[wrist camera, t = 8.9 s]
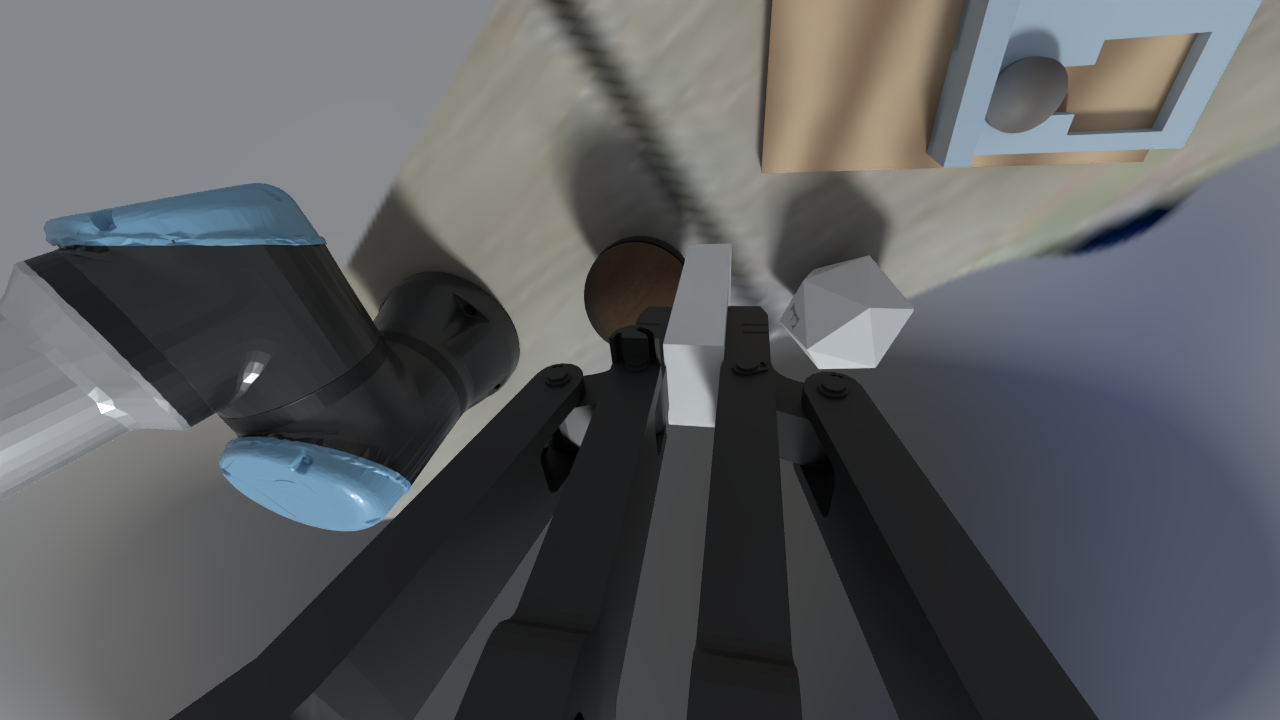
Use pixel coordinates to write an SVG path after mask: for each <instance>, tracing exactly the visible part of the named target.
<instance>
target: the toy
mask: <svg viewBox="0 0 1280 720" xmlns="http://www.w3.org/2000/svg"><path fill="white" fill-rule="evenodd" d="M684 263H685V258H684V257H683V256H682V254H681V253H680V252H679V251H678V250H676V249H675V248H674V247H673V246H671V245H670V244H668V243H667V242H665V241H662V240H660V239H657V238H654V237H649V236H633V237H628V238H625V239H622V240H619V241H617V242H615V243H613V244H612V245H610V246H609V247H607V248H606V249H605V250H604V251H603V252H602V253H601V254H600V255H599V256H598V258H597V259H596V260H595V262H594V264H593V265H592V267H591V269H590V271H589V273H588V276H587V279H586V283H585V289H584V302H585V309H586V312H587V315H588V318H589V320H590V322H591V324H592V326H593V328H594V329H595V330H596V332H597V333H598V334H599V335H600V336H601V337H602V338H603V339H604V340H605V341H606V342H608V343H609V336H610V335H611V334H612V333H613V332H614V331H616V330H618V329H619V328H622V327H626V326H629V325H636V322H637V319H638V317H639V314H640V313H641V312H643V311H644V310H645V309H646V308H647V307H648V306H659V307H673V304H674V301H675V297H676V293H677V289H678V285H679V282H680V278H681V274H682V270H683V266H684ZM609 344H610V343H609Z"/></svg>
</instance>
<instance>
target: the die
mask: <svg viewBox="0 0 1280 720" xmlns="http://www.w3.org/2000/svg"><path fill="white" fill-rule="evenodd" d="M913 310H914V308H913V307H912V306H911V305H910V303H909V302H908V301H907V300H906V298H905V297H904V296H903V295H902V294H901V293H900V291H899V290H898V289H897V288H896V287H895V285H894V284H893V283H892V282H891V281H890V279H889V278H888V277H887V276H886V275H885V273H884V272H883V271H882V270H881V269H880V267H879V266H878V265H877V264H876V263H875V261H874V260H873V259H872V258H871V257H870V255H868V256H864V257H860V258H856V259H852V260H849V261H845V262H841V263H837V264H833V265H829V266H825V267H821V268H817V269H813V270H812V271H811V273H810V274H809V275H808V276H807V277H806V278H805V279H804V280H803V282H802V284H801V285H800V287H799V289H798V290H797V292H796V294H795V295H794V297H793V299H792V300H791V302H790V304H789V306H788V307H787V309H786V311H785V312H784V314H783V316H782V317H781V319H780V322H781V324H782V325H783V326H784V327H785V328H786V330H787V331H788V332H789V333H790V335H791V336H792V337H793V338H794V339H795V341H796V342H797V343H798V344H799V345H800V347H801V348H802V349H803V350H804V352H805V353H806V354H807V355H808V356H809V358H810V359H811V360H812V361H813V363H814V364H815V365H816V366H817V367H818V369H841V368H876V366H877V365H878V363H879V362H880V360H881V359H882V357H883V356H884V354H885V353H886V351H887V350H888V348H889V347H890V345H891V344H892V342H893V341H894V339H895V338H896V336H897V335H898V333H899V332H900V330H901V329H902V327H903V326H904V324H905V323H906V321H907V320H908V318H909V317H910V315H911V314H912V312H913Z"/></svg>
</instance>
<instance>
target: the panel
mask: <svg viewBox="0 0 1280 720" xmlns="http://www.w3.org/2000/svg"><path fill="white" fill-rule="evenodd" d="M1261 2H1262V0H965V1H964V5H963V9H962V13H961V17H960V21H959V25H958V29H957V33H956V37H955V41H954V45H953V49H952V53H951V57H950V61H949V65H948V69H947V73H946V77H945V81H944V85H943V89H942V93H941V97H940V101H939V105H938V109H937V113H936V117H935V121H934V125H933V129H932V133H931V137H930V141H929V145H928V149H927V153H926V154H928V155H929V156H930V157H931V158H932V159H934V160H935V161H936V162H937V163H938V164H940V165H941V166H942V167H943V168H944V167H970V165H971V162H972V159H973V156H974V155H999V154H1027V153H1056V152H1084V151H1112V150H1140V149H1169V148H1183V146H1184V144H1185V143H1186V141H1187V139H1188V137H1189V135H1190V133H1191V131H1192V130H1193V128H1194V126H1195V124H1196V122H1197V120H1198V118H1199V117H1200V115H1201V113H1202V111H1203V109H1204V107H1205V106H1206V104H1207V102H1208V100H1209V98H1210V96H1211V94H1212V93H1213V91H1214V89H1215V87H1216V85H1217V83H1218V81H1219V80H1220V78H1221V76H1222V74H1223V72H1224V70H1225V68H1226V67H1227V65H1228V63H1229V61H1230V59H1231V57H1232V55H1233V54H1234V52H1235V50H1236V48H1237V46H1238V44H1239V42H1240V41H1241V39H1242V37H1243V35H1244V33H1245V31H1246V29H1247V28H1248V26H1249V24H1250V22H1251V20H1252V18H1253V16H1254V15H1255V13H1256V11H1257V9H1258V7H1259V5H1260V3H1261ZM1190 33H1198V35H1197V37H1196V39H1195V41H1194V43H1193V45H1192V47H1191V49H1190V51H1189V53H1188V55H1187V57H1186V59H1185V61H1184V63H1183V65H1182V67H1181V69H1180V71H1179V73H1178V75H1177V77H1176V79H1175V81H1174V83H1173V85H1172V87H1171V89H1170V91H1169V93H1168V95H1167V98H1166V100H1165V102H1164V104H1163V106H1162V108H1161V110H1160V112H1159V114H1158V116H1157V118H1156V120H1155V122H1154V124H1153V126H1152V128H1147V129H1124V130H1101V131H1077V132H1068V130H1069V128H1070V125H1071V123H1072V120H1073V118H1074V115H1075V114H1072V113H1069V112H1054V114H1053V115H1052V116H1050V117H1049V118H1048V119H1047V120H1046V121H1045V122H1043V123H1042V124H1040V125H1039V126H1037V127H1035V128H1033V129H1031V130H1028V131H1025V132H1021V133H1014V134H1013V133H1004V132H1001V131H999V130H997V129H995V128H993V127H991V126H990V125H989V124H988V123H987V122H986V120H985V116H986V113H987V110H988V106H989V103H990V100H991V96H992V93H993V90H994V87H995V83H996V80H997V77H998V73H999V72H1001V71H1002V70H1003V69H1004V68H1005V67H1007V66H1008V65H1010V64H1011V63H1013V62H1015V61H1017V60H1020V59H1022V58H1026V57H1031V56H1041V57H1048V58H1052V59H1055V60H1057V61H1059V62H1060V63H1061V64H1062V65H1063V66H1064V67H1069V66H1084V65H1095V63H1096V60H1097V58H1098V55H1099V53H1100V50H1101V48H1102V45H1103V43H1104V40H1112V39H1125V38H1138V37H1151V36H1164V35H1177V34H1190Z"/></svg>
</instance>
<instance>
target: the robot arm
mask: <svg viewBox="0 0 1280 720" xmlns="http://www.w3.org/2000/svg"><path fill="white" fill-rule="evenodd" d="M44 230H45V233H46V241H47V242H48V243H50V244H51V245H52V246H56V245H57V246H59V249H57V250H55V251H53V252H49V253H46V254H43V255H40V256H37V257H34V258H31V259H28V260H25V261H21V262H18V263H16V264H14V267H13V270H12V273H11V276H10V278H9V281H8V284H7V287H6V290H5V293H4V296H3V297H2V298H1V299H0V501H2V500H4V499H6V498H7V497H9V496H11V495H13V494H15V493H17V492H19V491H20V490H22V489H24V488H26V487H28V486H30V485H31V484H33V483H35V482H37V481H39V480H41V479H42V478H44V477H46V476H48V475H50V474H52V473H53V472H55V471H57V470H59V469H61V468H63V467H65V466H66V465H68V464H70V463H72V462H74V461H76V460H77V459H79V458H81V457H83V456H85V455H86V454H88V453H90V452H92V451H94V450H96V449H97V448H99V447H101V446H103V445H105V444H107V443H109V442H110V441H112V440H114V439H116V438H118V437H120V436H121V435H123V434H125V433H127V432H129V431H130V430H136V429H141V428H155V429H172V430H185V429H188V428H190V427H192V426H194V425H195V424H197V423H199V422H200V421H202V420H204V419H206V418H208V417H209V416H211V415H213V414H214V413H217V414H218V415H219V416H220V417H221V418H222V419H223V420H224V421H225V423H226V424H227V425H228V426H229V427H230V428H231V429H232V430H233V431H234V432H235V433H236V435H237V436H238V438H236V439H235V440H231V441H230V442H228V443H227V445H226V446H225V449H224V451H223V452H222V454H221V455H220V458H219V465H220V467H221V468H222V473H223V475H224V476H225V477H226V479H227V480H228V481H229V482H230V483H231V484H232V485H233V486H234V487H235V488H236V489H238V490H239V491H240V492H242V493H243V494H244V495H246V496H247V497H249V498H250V499H252V500H254V501H255V502H257V503H258V504H260V505H262V506H264V507H266V508H267V509H269V510H272V511H274V512H276V513H278V514H280V515H282V516H285V517H287V518H289V519H292V520H295V521H298V522H300V523H304V524H307V525H310V526H314V527H318V528H323V529H328V530H335V531H356V530H362V529H365V528H368V527H371V526H373V525H375V524H376V523H378V522H379V521H381V520H382V519H383V518H384V517H385V516H386V514H387V513H388V512H389V511H390V510H391V509H392V507H393V506H394V505H395V504H396V503H397V501H398V500H399V499H400V498H401V497H402V496H403V495H405V494H406V493H407V492H409V490H410V488H411V485H412V484H413V482H414V481H415V480H416V478H417V477H418V475H419V474H420V473H421V471H422V470H423V468H424V467H425V466H426V464H427V463H428V462H429V460H430V459H431V457H432V456H433V455H434V453H435V452H436V450H437V449H438V448H439V446H440V445H441V443H442V442H443V441H444V439H445V438H446V436H447V435H448V434H449V432H450V431H451V429H452V428H453V427H454V425H455V424H456V422H457V421H458V420H459V418H460V417H461V416H462V414H463V413H464V412H465V411H467V410H468V409H470V408H471V407H473V406H475V405H476V404H478V403H479V402H481V401H483V400H484V399H485V398H487V397H488V396H490V395H492V394H494V393H495V392H497V391H498V390H499V389H501V388H502V387H503V386H504V385H505V383H506V382H507V381H508V379H509V378H510V376H511V375H512V373H513V372H514V370H515V369H516V367H517V364H518V361H519V355H520V348H519V341H518V337H517V333H516V331H515V328H514V326H513V324H512V322H511V320H510V319H509V317H508V316H507V314H506V313H505V311H504V310H503V309H502V308H501V306H500V305H499V304H498V303H497V302H496V301H495V300H494V299H493V298H492V297H491V296H489V295H488V294H487V293H486V292H484V291H483V290H482V289H480V288H479V287H477V286H476V285H474V284H472V283H470V282H468V281H466V280H464V279H462V278H459V277H457V276H454V275H450V274H446V273H439V272H425V273H419V274H415V275H413V276H410V277H409V278H407V279H405V280H404V281H403V282H401V283H400V284H399V285H397V286H396V287H395V288H393V289H392V290H391V291H390V292H389V293H388V294H387V295H386V297H385V298H384V300H383V302H382V304H381V306H380V309H379V313H378V314H377V316H376V318H375V319H374V321H372V319H371V318H370V316H369V314H368V313H367V311H366V310H365V308H364V306H363V305H362V303H361V302H360V300H359V299H358V297H357V295H356V294H355V292H354V291H353V289H352V287H351V286H350V284H349V283H348V281H347V280H346V278H345V276H344V275H343V273H342V272H341V270H340V268H339V267H338V265H337V263H336V262H335V260H334V258H333V257H332V255H331V254H330V252H329V250H328V248H327V247H326V245H325V244H327V243H326V241H325V239H324V238H323V237H320V236H319V235H318V233H317V232H316V230H315V229H314V228H313V226H312V225H311V223H310V222H309V221H308V219H307V218H306V216H305V215H304V214H303V212H302V211H301V210H300V208H299V206H298V205H297V204H296V202H295V201H294V200H293V199H292V197H291V196H289V195H288V194H287V193H286V192H284V191H283V190H281V189H279V188H277V187H275V186H271V185H268V184H261V183H253V184H245V185H238V186H232V187H226V188H220V189H215V190H208V191H203V192H197V193H192V194H185V195H180V196H174V197H168V198H163V199H158V200H152V201H147V202H141V203H136V204H131V205H126V206H120V207H115V208H111V209H104V210H100V211H94V212H89V213H83V214H76V215H70V216H65V217H60V218H55V219H51V220H49V221H47V222H46V223H45V225H44ZM730 286H731V244H689V247H688V251H687V255H686V259H685V263H684V266H683V270H682V274H681V278H680V282H679V285H678V289H677V293H676V297H675V301H674V304H673V307H659V306H648V307H647V308H646V309H645V310H644V311H643V312H641V313H640V314H639V317H638V319H637V322H636V325H629V326H626V327H622V328H619V329H618V330H616V331H614V332H613V333H612V334H611V335H610V336H609V343H610V349H611V356H612V363H613V364H612V366H611V369H610V370H608V371H606V372H602V373H598V374H593V375H587V376H583V372H582V370H581V369H580V368H579V367H578V366H575V365H573V364H564V363H562V364H555V365H552V366H549V367H547V368H544V369H543V370H541V371H540V372H539V373H537V374H536V375H535V376H534V377H533V378H532V379H531V380H530V381H529V383H528V384H527V385H526V386H525V387H524V388H523V389H522V390H521V391H520V392H519V393H518V394H517V395H516V396H515V397H514V398H513V399H512V400H511V401H510V402H509V403H508V404H507V405H506V406H505V407H504V408H503V409H502V410H501V411H500V412H499V413H498V414H497V415H496V416H495V417H494V418H493V419H492V420H491V421H490V422H489V423H488V424H487V425H486V426H485V427H484V428H483V429H482V430H481V431H480V432H479V433H478V434H477V435H476V436H475V437H474V438H473V439H472V440H471V441H470V442H469V443H468V444H467V445H466V446H465V447H464V448H463V449H462V450H461V451H460V452H459V453H458V454H457V455H456V456H455V457H454V458H453V459H452V460H451V461H450V462H449V464H448V465H447V466H446V467H445V468H444V469H443V470H442V471H441V472H440V473H439V474H438V475H437V476H436V477H435V478H434V479H433V480H432V481H431V482H430V483H429V484H428V485H427V486H426V487H425V488H424V489H423V490H422V491H421V492H420V493H419V494H418V495H417V496H416V497H415V498H414V499H413V500H412V501H411V502H410V503H409V504H408V505H407V506H406V507H405V508H404V509H403V510H402V511H401V512H400V513H399V514H398V515H397V516H396V517H395V518H394V519H393V520H392V521H391V522H390V523H389V524H388V525H387V526H386V527H385V528H384V529H383V530H382V531H381V532H380V533H379V534H378V535H377V537H375V539H373V540H372V542H371V543H370V544H369V545H368V546H367V547H366V548H365V549H364V550H363V551H362V552H361V553H360V554H359V555H358V556H357V557H356V558H355V559H354V560H353V561H352V562H351V563H350V564H349V565H348V566H347V567H346V568H345V569H344V570H343V571H342V572H341V573H340V574H339V575H338V576H337V577H336V578H335V579H334V580H333V581H332V582H331V583H330V584H329V585H328V586H327V587H326V588H325V589H324V590H323V591H322V592H321V593H320V594H319V595H318V596H317V597H316V598H315V599H314V600H313V601H312V603H310V604H309V605H308V606H307V607H306V608H305V609H304V610H303V612H302V613H300V614H299V616H298V617H296V618H295V619H294V620H293V621H292V623H291V624H290V625H289V626H288V627H287V628H286V629H285V630H284V631H283V632H282V633H281V634H280V635H279V636H278V637H277V638H276V639H275V640H274V641H273V642H272V643H271V644H270V645H269V646H268V647H267V648H266V649H265V650H264V651H263V652H262V653H261V654H260V655H259V656H258V657H257V658H256V659H254V660H253V661H251V662H250V663H249V664H247V665H246V666H244V667H243V668H241V669H240V670H239V671H238V672H236V673H234V674H233V675H232V676H230V677H229V678H227V679H226V680H225V681H223V682H222V683H220V684H219V685H217V686H216V687H215V688H213V689H212V690H210V691H209V692H208V693H206V694H205V695H203V696H202V697H201V698H199V699H198V700H196V701H195V702H193V703H192V704H191V705H189V706H188V707H187V708H185V709H184V710H182V711H181V712H179V713H178V714H177V715H175V716H174V717H173V718H171V719H169V720H413V719H414V718H415V716H416V714H417V713H418V712H419V710H420V709H421V707H422V706H423V704H424V703H425V701H426V700H427V699H428V697H429V696H430V694H431V693H432V691H433V690H434V688H435V687H436V685H437V684H438V683H439V681H440V680H441V678H442V677H443V675H444V674H445V672H446V671H447V669H448V668H449V667H450V665H451V664H452V662H453V660H454V659H455V658H456V656H457V655H458V653H459V652H460V650H461V649H462V648H463V646H464V645H465V643H466V642H467V640H468V639H469V637H470V636H471V634H472V633H473V631H474V630H475V629H476V627H477V626H478V624H479V623H480V621H481V620H482V618H483V617H484V615H485V614H486V613H487V611H488V610H489V608H490V607H491V605H492V604H493V602H494V601H495V599H496V598H497V596H498V595H499V594H500V592H501V591H502V589H503V588H504V586H505V585H506V583H507V582H508V580H509V579H510V577H511V576H512V575H513V573H514V572H515V570H516V569H517V567H518V566H519V564H520V563H521V561H522V560H523V559H524V557H525V555H526V554H527V553H528V551H529V550H530V548H531V547H532V545H533V544H534V542H535V541H536V540H537V538H538V536H539V535H540V534H541V532H542V531H543V529H544V528H545V526H546V525H547V523H548V522H549V521H550V519H551V518H552V516H553V518H552V520H551V523H550V525H549V528H548V531H547V533H546V536H545V538H544V541H543V544H542V546H541V548H540V551H539V554H538V556H537V559H536V561H535V564H534V567H533V569H532V572H531V574H530V577H529V580H528V582H527V584H526V587H525V590H524V592H523V595H522V597H521V600H520V602H519V605H518V607H517V609H516V611H515V613H514V615H513V616H512V617H511V618H510V619H507V620H504V621H501V622H500V623H499V624H498V625H497V626H496V627H495V629H494V630H493V631H492V633H491V635H490V637H489V639H488V641H487V643H486V645H485V647H484V649H483V652H482V654H481V656H480V659H479V661H478V664H477V666H476V668H475V671H474V673H473V676H472V678H471V681H470V683H469V685H468V688H467V690H466V692H465V695H464V697H463V700H462V702H461V704H460V707H459V709H458V712H457V714H456V716H455V719H454V720H616V703H617V696H618V689H619V684H620V679H621V674H622V669H623V664H624V658H625V653H626V648H627V643H628V638H629V632H630V627H631V622H632V617H633V612H634V606H635V601H636V596H637V591H638V585H639V580H640V575H641V569H642V565H643V559H644V554H645V549H646V543H647V538H648V533H649V528H650V523H651V518H652V512H653V507H654V502H655V497H656V492H657V486H658V481H659V476H660V470H661V465H662V460H663V455H664V450H665V444H666V439H667V433H666V421H667V415H668V417H669V418H668V419H669V424H672V425H688V426H704V427H715V433H714V445H713V456H712V468H711V480H710V491H709V502H708V514H707V526H706V537H705V549H704V561H703V572H702V583H701V594H700V605H699V617H698V628H697V640H696V646H695V649H694V653H693V659H692V668H691V677H690V688H689V699H688V710H687V720H802V711H801V697H800V687H799V678H798V672H797V668H796V666H795V664H794V662H793V656H792V646H791V630H790V614H789V599H788V584H787V570H786V569H787V568H786V554H785V537H784V521H783V506H782V491H781V475H780V460H779V458H781V459H785V460H788V461H791V462H793V466H794V470H795V473H796V475H797V477H798V480H799V482H800V485H801V487H802V489H803V492H804V494H805V497H806V499H807V501H808V504H809V506H810V508H811V511H812V513H813V516H814V518H815V520H816V523H817V525H818V527H819V530H820V532H821V535H822V537H823V539H824V542H825V544H826V546H827V549H828V551H829V554H830V556H831V558H832V561H833V563H834V565H835V568H836V570H837V572H838V575H839V577H840V580H841V582H842V584H843V587H844V589H845V592H846V594H847V596H848V599H849V601H850V603H851V606H852V608H853V611H854V613H855V615H856V618H857V620H858V622H859V625H860V627H861V630H862V632H863V634H864V637H865V639H866V641H867V644H868V646H869V648H870V651H871V653H872V656H873V658H874V660H875V663H876V665H877V668H878V670H879V672H880V674H881V677H882V679H883V682H884V684H885V687H886V689H887V691H888V694H889V696H890V699H891V701H892V703H893V705H894V708H895V710H896V713H897V715H898V718H899V720H1099V719H1098V718H1097V716H1096V715H1095V713H1094V712H1093V711H1092V709H1091V708H1090V706H1089V705H1088V704H1087V702H1086V701H1085V699H1084V698H1083V697H1082V695H1081V694H1080V693H1079V691H1078V690H1077V688H1076V687H1075V685H1074V684H1073V683H1072V681H1071V680H1070V678H1069V677H1068V676H1067V674H1066V673H1065V671H1064V670H1063V668H1062V667H1061V666H1060V664H1059V663H1058V661H1057V660H1056V659H1055V657H1054V656H1053V655H1052V653H1051V652H1050V650H1049V649H1048V648H1047V646H1046V645H1045V643H1044V642H1043V640H1042V639H1041V638H1040V636H1039V635H1038V633H1037V632H1036V631H1035V629H1034V628H1033V626H1032V625H1031V623H1030V622H1029V621H1028V619H1027V618H1026V616H1025V615H1024V614H1023V612H1022V611H1021V610H1020V608H1019V607H1018V605H1017V604H1016V603H1015V601H1014V600H1013V598H1012V597H1011V595H1010V594H1009V593H1008V591H1007V590H1006V588H1005V587H1004V586H1003V584H1002V583H1001V581H1000V580H999V579H998V577H997V576H996V574H995V573H994V571H993V570H992V569H991V567H990V566H989V564H988V563H987V562H986V560H985V559H984V557H983V556H982V555H981V553H980V552H979V550H978V549H977V548H976V546H975V545H974V543H973V542H972V541H971V539H970V538H969V536H968V535H967V533H966V532H965V531H964V529H963V528H962V526H961V525H960V524H959V523H958V521H957V520H956V518H955V517H954V515H953V514H952V512H951V511H950V510H949V508H948V507H947V505H946V504H945V503H944V501H943V500H942V498H941V497H940V496H939V494H938V493H937V491H936V490H935V488H934V487H933V486H932V485H931V483H930V482H929V480H928V479H927V477H926V476H925V475H924V473H923V472H922V470H921V469H920V468H919V466H918V465H917V463H916V462H915V460H914V459H913V458H912V456H911V455H910V454H909V452H908V451H907V449H906V448H905V446H904V445H903V443H902V442H901V441H900V439H899V438H898V436H897V435H896V434H895V432H894V431H893V429H892V428H891V427H890V425H889V424H888V422H887V421H886V420H885V418H884V417H883V415H882V414H881V413H880V411H879V410H878V408H877V407H876V406H875V404H874V403H873V401H872V400H871V398H870V397H869V396H868V394H867V393H866V391H865V390H864V389H863V387H862V386H861V385H860V384H859V383H858V382H857V381H856V380H855V379H853V378H851V377H849V376H847V375H844V374H840V373H836V372H820V373H816V374H813V375H811V376H810V377H808V378H806V380H805V383H802V382H799V381H795V380H792V379H789V378H786V377H784V376H782V375H780V374H779V373H778V372H777V371H775V369H774V368H773V366H772V364H771V360H770V344H769V328H768V315H767V314H766V312H765V311H764V310H763V309H762V308H761V307H760V306H730Z"/></svg>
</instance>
